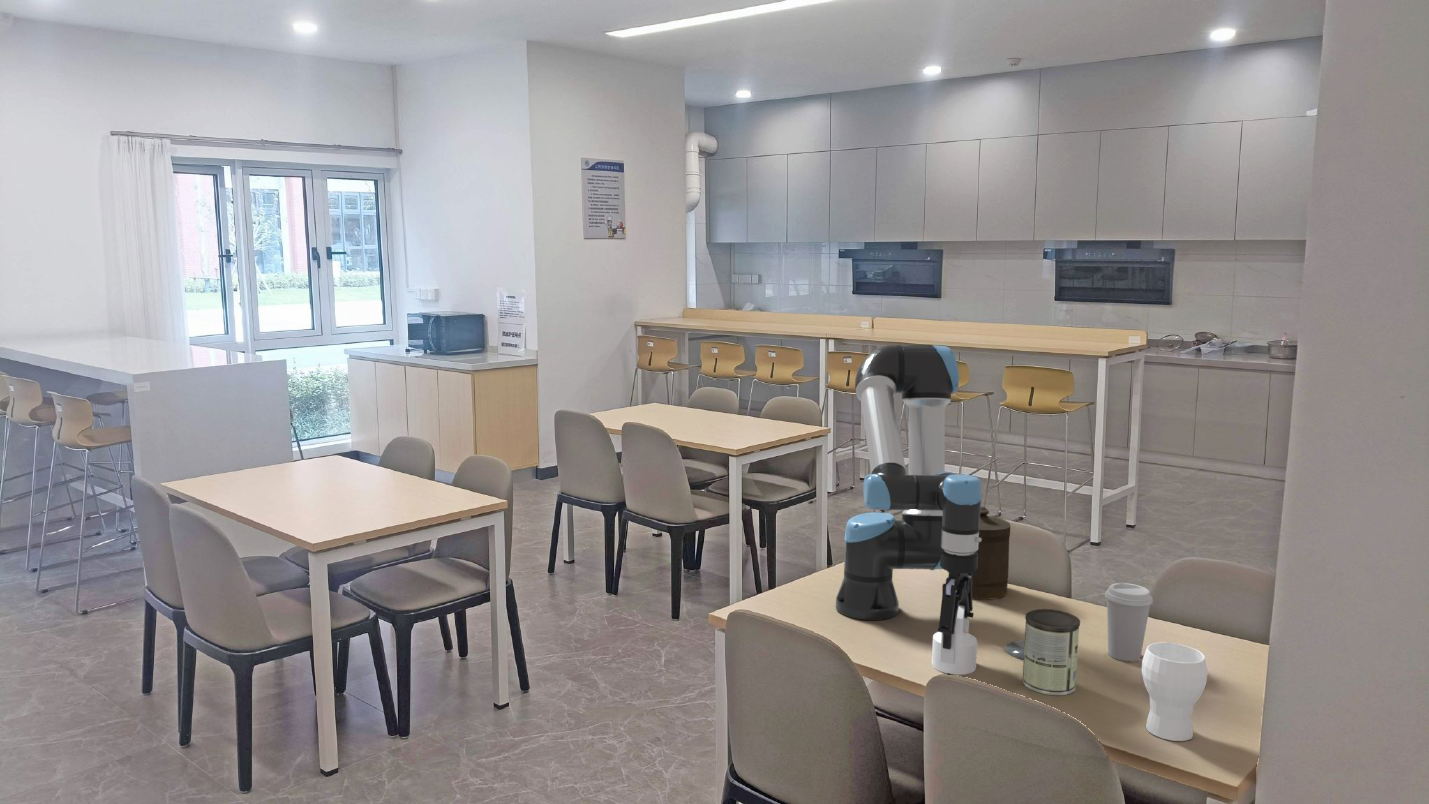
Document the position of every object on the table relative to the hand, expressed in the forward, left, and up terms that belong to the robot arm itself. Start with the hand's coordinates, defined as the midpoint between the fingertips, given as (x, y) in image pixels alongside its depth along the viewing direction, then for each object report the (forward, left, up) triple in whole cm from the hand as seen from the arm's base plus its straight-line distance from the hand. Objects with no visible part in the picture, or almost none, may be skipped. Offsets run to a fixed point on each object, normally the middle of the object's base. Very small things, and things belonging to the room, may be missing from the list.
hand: (954, 654), depth 204 cm
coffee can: (+19, +1, -3) cm, 19 cm away
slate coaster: (+12, +16, -3) cm, 20 cm away
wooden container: (-9, +51, -3) cm, 52 cm away
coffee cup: (+30, +25, -3) cm, 39 cm away
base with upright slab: (0, 0, -3) cm, 3 cm away
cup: (+42, -8, -3) cm, 43 cm away
